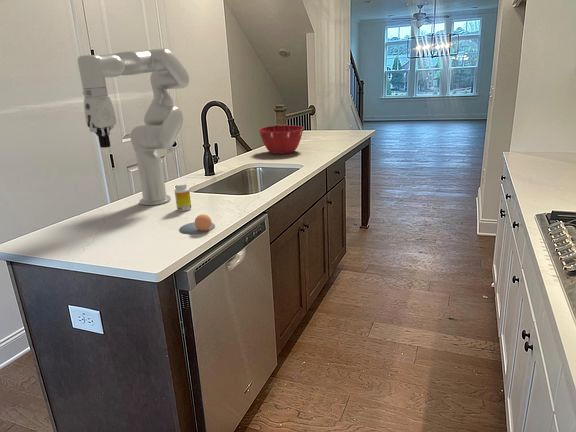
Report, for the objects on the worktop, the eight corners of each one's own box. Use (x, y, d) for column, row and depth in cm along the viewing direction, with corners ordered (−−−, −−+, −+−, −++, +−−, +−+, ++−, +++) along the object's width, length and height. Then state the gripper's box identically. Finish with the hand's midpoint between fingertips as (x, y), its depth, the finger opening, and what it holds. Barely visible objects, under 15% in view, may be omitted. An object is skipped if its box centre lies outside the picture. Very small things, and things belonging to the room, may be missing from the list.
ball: (217, 222, 146) (210, 233, 149) (209, 210, 149) (202, 222, 151) (203, 222, 142) (196, 235, 145) (195, 211, 144) (189, 223, 147)
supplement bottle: (193, 209, 171) (190, 184, 168) (179, 212, 169) (175, 186, 165) (189, 206, 176) (185, 181, 173) (175, 209, 173) (171, 183, 170)
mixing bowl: (313, 152, 276) (312, 127, 271) (273, 158, 262) (271, 132, 258) (290, 147, 299) (289, 124, 294) (252, 152, 286) (250, 128, 281)
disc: (183, 223, 156) (183, 222, 156) (217, 221, 156) (216, 220, 156) (175, 235, 145) (175, 234, 145) (212, 233, 145) (212, 232, 145)
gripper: (88, 94, 142) (99, 151, 148) (119, 91, 156) (127, 143, 161) (70, 95, 145) (81, 150, 150) (102, 92, 158) (111, 143, 164)
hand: (105, 147), depth 156 cm, fingers closed
